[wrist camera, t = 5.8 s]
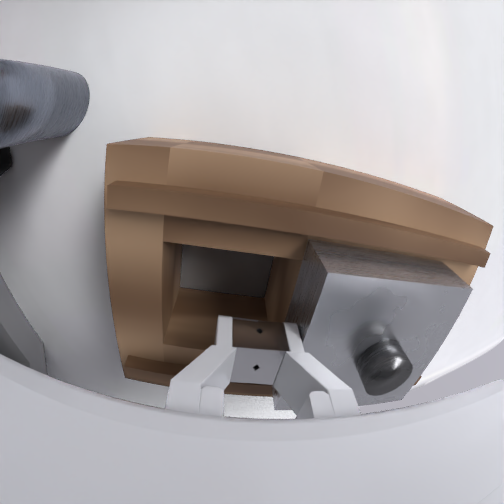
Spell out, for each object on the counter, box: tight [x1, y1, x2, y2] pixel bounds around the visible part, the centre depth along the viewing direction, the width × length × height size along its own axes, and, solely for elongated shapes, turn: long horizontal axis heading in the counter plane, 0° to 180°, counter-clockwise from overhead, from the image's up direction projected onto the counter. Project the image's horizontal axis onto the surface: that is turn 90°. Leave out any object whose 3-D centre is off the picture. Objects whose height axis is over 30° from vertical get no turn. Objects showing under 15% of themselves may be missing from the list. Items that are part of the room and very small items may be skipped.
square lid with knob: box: [271, 239, 472, 410], centre depth 10 cm, size 7×7×4 cm
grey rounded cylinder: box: [0, 59, 89, 149], centre depth 7 cm, size 4×4×10 cm
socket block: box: [104, 137, 493, 397], centre depth 13 cm, size 12×18×6 cm, turn 80°
